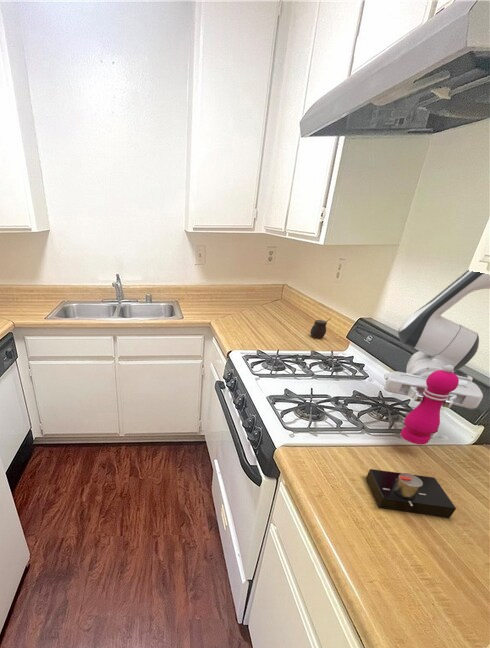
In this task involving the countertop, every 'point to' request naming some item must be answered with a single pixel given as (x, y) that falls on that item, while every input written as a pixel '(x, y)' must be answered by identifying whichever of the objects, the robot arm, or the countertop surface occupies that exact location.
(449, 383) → the pepper mill
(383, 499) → the black knob panel
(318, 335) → the mate gourd
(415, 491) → the hob knob
